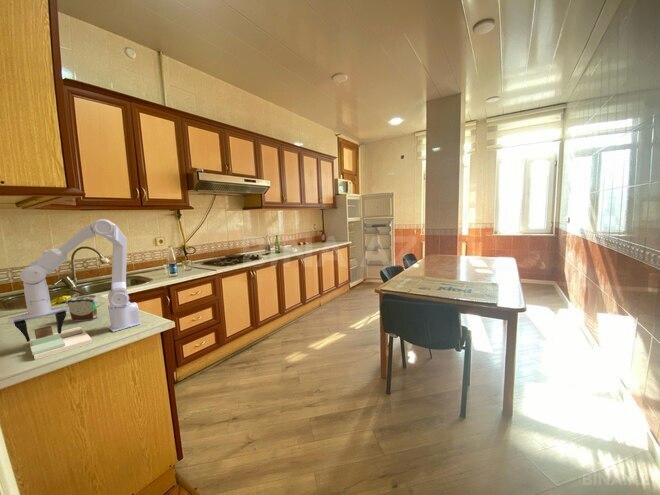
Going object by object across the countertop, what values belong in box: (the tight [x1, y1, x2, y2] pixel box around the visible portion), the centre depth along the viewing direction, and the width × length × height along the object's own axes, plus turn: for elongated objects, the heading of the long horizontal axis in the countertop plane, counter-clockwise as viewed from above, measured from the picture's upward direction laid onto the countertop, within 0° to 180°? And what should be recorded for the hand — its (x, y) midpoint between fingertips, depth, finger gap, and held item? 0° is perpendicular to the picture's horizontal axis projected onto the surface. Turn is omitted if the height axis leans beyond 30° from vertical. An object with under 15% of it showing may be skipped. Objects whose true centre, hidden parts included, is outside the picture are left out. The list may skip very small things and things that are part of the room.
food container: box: [65, 294, 99, 322], centre depth 122 cm, size 12×6×10 cm, turn 92°
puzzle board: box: [29, 326, 93, 361], centre depth 97 cm, size 14×20×1 cm
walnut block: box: [34, 325, 54, 339], centre depth 96 cm, size 4×4×6 cm
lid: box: [29, 334, 65, 356], centre depth 90 cm, size 8×8×3 cm
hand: (44, 336), depth 95 cm, fingers open, 7 cm apart
